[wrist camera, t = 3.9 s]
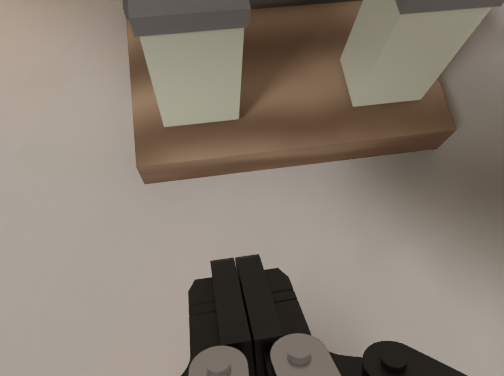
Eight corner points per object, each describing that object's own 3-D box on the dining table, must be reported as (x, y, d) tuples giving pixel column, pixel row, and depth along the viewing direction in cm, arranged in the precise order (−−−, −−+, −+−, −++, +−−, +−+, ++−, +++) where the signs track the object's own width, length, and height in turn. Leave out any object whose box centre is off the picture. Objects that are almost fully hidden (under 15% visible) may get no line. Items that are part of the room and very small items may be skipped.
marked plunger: (242, 121, 29) (250, 8, 19) (161, 130, 28) (129, 18, 19) (233, 67, 30) (236, -63, 21) (155, 74, 30) (123, -56, 20)
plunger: (424, 101, 30) (515, -13, 21) (350, 109, 30) (409, -5, 20) (407, 50, 32) (484, -78, 22) (336, 57, 31) (385, -72, 22)
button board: (436, 148, 33) (468, 118, 29) (144, 184, 30) (131, 156, 26) (382, -12, 38) (402, -58, 34) (131, 7, 36) (118, -40, 32)
